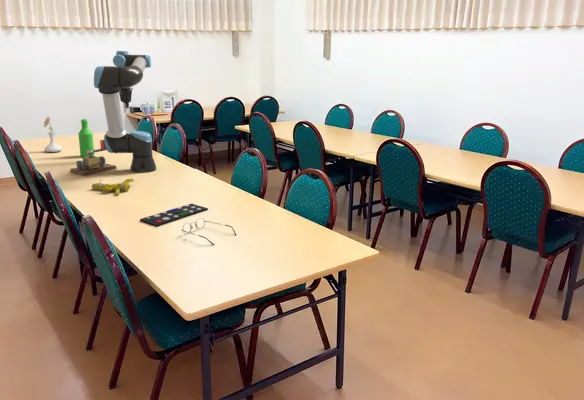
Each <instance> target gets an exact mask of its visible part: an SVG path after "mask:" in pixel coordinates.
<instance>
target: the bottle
mask: <svg viewBox="0 0 584 400" xmlns="http://www.w3.org/2000/svg"><path fill="white" fill-rule="evenodd" d="M88 122H89V120H88V119H85V118H82V119H81V120H80V124H81V129H80V130H79V132H78V144H79V153H80V157H82V158H84V157H89V154H87V150H95V148H94V147H95V146H94V137H93V136H94V133H93V132H92V131H91V129H90V128H89V126H88ZM92 156H95V153H93V154H92Z"/></svg>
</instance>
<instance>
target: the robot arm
mask: <svg viewBox="0 0 584 400" xmlns="http://www.w3.org/2000/svg"><path fill="white" fill-rule="evenodd" d="M115 52H116V53H115V55H114V56H113V58H112V64H113V65H114V66H111V65H110V66H109V65H108V66H107V65H103V66H102V65H100V66H99V65H98V66H96V67H95V69H94V73H93V85H94V88H95V89H98V92H99V93H100V94H101V95H102V96H101V97H102V101H103V107H104V111H105V118H106V119H105V120H106V125H107V130H106V133H105V134H104V135H103V140H104V143H105V147H106V150H105V151H107V152H108V153H110V154H132V159H131V164H130V171H131V172H133V173H150V172H153V171H156V170H157V165H156V162H155V160H154V156H153V144H152V143H153V139H152V135H151V133H150V132H146V131H141V130H133V131H131V132H130V133H128V131H127V130H126V128H124V123H123V116H122V109H121V103H123V105H122V106H123V113H124V114H129V113H130V103H131V102H132V95H133V94H132V93H133V89H134V88H133V87H134V86H137V84H139V83H140V82H142V79H143V78H144V71H145V69H147V68H151V66H152V58H151V56H150V55H149V54H129V51H127V50H117V51H115Z"/></svg>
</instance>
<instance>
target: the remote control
mask: <svg viewBox="0 0 584 400" xmlns="http://www.w3.org/2000/svg"><path fill="white" fill-rule="evenodd" d="M206 211H209V208H207V207H204V206H201V205H199V204H198V205H197V204H195V203H189V204H185V205H182V206H179V207H176V208H175V207H174V208H171V209H167V210H166V211H162V212H159V213H155V214H153V215H150V216H149V215H148V216H145V217H143V218H140V219H139V220H140V221H139V222H142V223H144V224H147V225H150V226H153V227H156V228H158V227H161V226H163V225H167V224H171V223H172V222H176V221H179V220H182V219H185V218H189V217H191V216H194V215H197V214H201V213H203V212H206Z"/></svg>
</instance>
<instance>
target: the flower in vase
mask: <svg viewBox="0 0 584 400" xmlns="http://www.w3.org/2000/svg"><path fill="white" fill-rule="evenodd" d="M50 121H51V117H50V116H47V117H46V118H45V121H44V122H43V127H44V128H46V127H47V126H48V125H49V126H48V130H50V131H46V132H47V134H48V135H49V139H50V142H49V143H48V144H47V145H46V146H45V148H44V151H45V152H48V153H57V152H61V151H62V150H63V147H62V146H61V145H59V144H58V143H56V142H55V133H56V131H53V127H52V124H51V123H50Z"/></svg>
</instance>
